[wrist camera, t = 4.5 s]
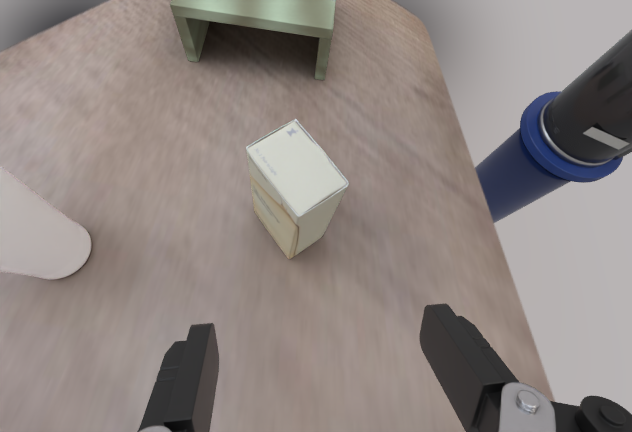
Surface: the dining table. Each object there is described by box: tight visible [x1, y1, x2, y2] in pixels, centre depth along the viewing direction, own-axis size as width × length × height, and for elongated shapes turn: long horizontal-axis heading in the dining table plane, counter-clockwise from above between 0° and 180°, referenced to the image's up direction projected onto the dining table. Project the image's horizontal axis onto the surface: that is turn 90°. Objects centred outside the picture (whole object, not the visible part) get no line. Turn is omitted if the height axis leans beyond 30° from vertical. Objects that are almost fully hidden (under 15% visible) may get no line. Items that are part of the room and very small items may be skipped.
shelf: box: [170, 0, 336, 80], centre depth 38 cm, size 16×13×7 cm
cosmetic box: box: [246, 119, 349, 259], centre depth 27 cm, size 6×4×12 cm
